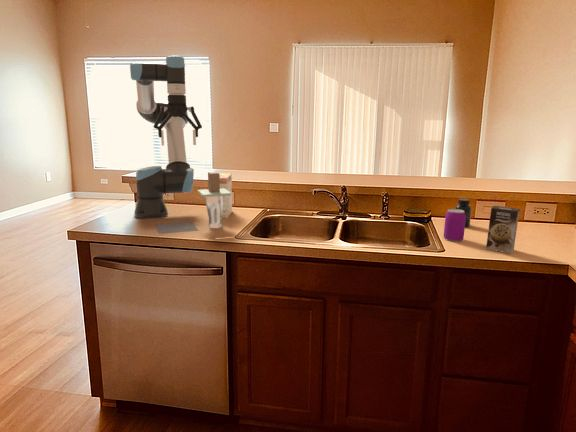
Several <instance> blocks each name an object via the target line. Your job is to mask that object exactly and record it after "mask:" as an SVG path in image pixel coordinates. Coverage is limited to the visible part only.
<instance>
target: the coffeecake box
mask: <svg viewBox="0 0 576 432" xmlns="http://www.w3.org/2000/svg"><path fill="white" fill-rule="evenodd" d="M218 173H219V179H220V189H223V188H225V189H226V190H228V191H229V192H230V193H231V196H222V200H223V207H222V214H221V219H228V218H229V217H230V215H231V214H232V212H233V192H232V190H233V189H232V188H233V186H232V185H233V181H232V179H233V178H232V173H229V172H228V173H227V172H224V173H223V172H218Z"/></svg>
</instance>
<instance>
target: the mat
mask: <svg viewBox="0 0 576 432" xmlns="http://www.w3.org/2000/svg"><path fill="white" fill-rule="evenodd" d="M155 228H156V230H157V233H158V234H160V235H161V234H174V233H182V232H183V233H185V232H186V233H187V232H194V231H199V229H198V228H197V226H196V225H195V223H194V222H193V221H181V222H171V223H170V222H169V223H156V224H155Z"/></svg>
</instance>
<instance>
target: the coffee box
mask: <svg viewBox="0 0 576 432" xmlns="http://www.w3.org/2000/svg"><path fill="white" fill-rule="evenodd" d="M520 211H521V209H520V208H517V207H509V206H500V205H493V206H492V207H491V210H490V218H489V223H488V224H489V225H488V231H487V238H486V246H485V250H487V249H490V250H489V251H493V250H497V251H496V252H498V251H503V252H502V253H504V252H509V253H508V254H510V253H512V254H513V253H514V251H513V250H515V245H516V244H515V243H516V238H517V237H516V236H517V229H518V223H519V218H520Z"/></svg>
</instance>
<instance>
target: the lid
mask: <svg viewBox="0 0 576 432" xmlns="http://www.w3.org/2000/svg"><path fill="white" fill-rule="evenodd" d="M219 173H220V172H218V171H209V172H207V181H208V183H207V186H208V188H206V189H197V190H196V191H197V193H198V194H199V195H200V196H201V197H202V198H206V197H214V196H231V193H230V192H229V191H228V190H226V189H225V188H223V189H220V179H219Z"/></svg>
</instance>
